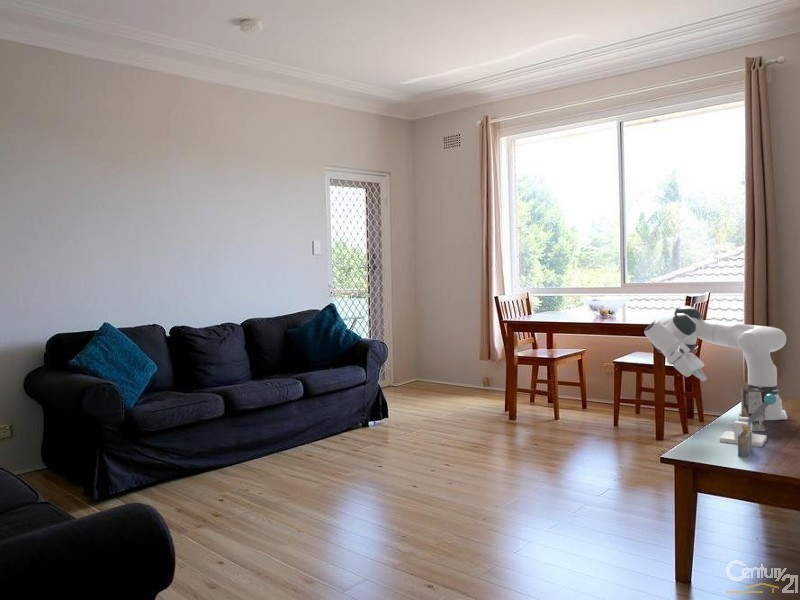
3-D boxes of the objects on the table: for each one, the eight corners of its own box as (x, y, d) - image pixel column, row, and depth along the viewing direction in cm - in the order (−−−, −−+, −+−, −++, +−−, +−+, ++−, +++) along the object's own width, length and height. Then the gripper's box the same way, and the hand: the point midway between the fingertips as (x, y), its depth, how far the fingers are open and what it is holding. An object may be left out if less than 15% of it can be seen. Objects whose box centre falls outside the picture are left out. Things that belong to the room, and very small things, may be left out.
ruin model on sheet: (742, 449, 237) (742, 423, 236) (751, 450, 235) (751, 424, 234) (736, 457, 228) (736, 430, 227) (746, 458, 226) (746, 431, 225)
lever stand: (726, 434, 255) (726, 414, 255) (766, 439, 247) (766, 418, 246) (719, 441, 246) (719, 421, 245) (761, 446, 237) (761, 425, 237)
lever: (737, 424, 250) (770, 390, 242) (746, 432, 248) (780, 397, 240) (734, 428, 245) (768, 392, 238) (744, 435, 244) (777, 400, 236)
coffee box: (765, 431, 258) (765, 391, 257) (748, 431, 259) (747, 391, 258) (757, 425, 267) (757, 387, 266) (741, 425, 268) (740, 387, 267)
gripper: (679, 355, 268) (705, 380, 263) (665, 362, 252) (692, 389, 247) (691, 345, 265) (717, 370, 260) (677, 351, 249) (705, 378, 244)
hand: (705, 380), depth 253 cm, fingers closed
